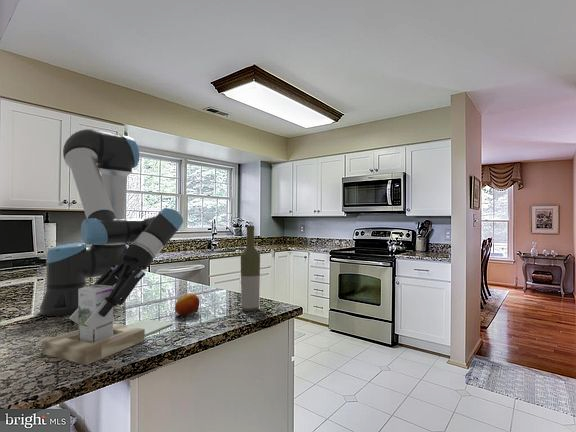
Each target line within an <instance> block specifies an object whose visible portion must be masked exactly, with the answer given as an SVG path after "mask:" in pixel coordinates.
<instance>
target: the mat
mask: <svg viewBox="0 0 576 432" xmlns="http://www.w3.org/2000/svg"><path fill="white" fill-rule="evenodd" d="M170 325H171V326H173V322H167V321H162V320H161V321H160V320H155V319H148V318H147V319H146V318H145V319H142V320H139V321H136V322H133V323H130V324H128V325H126V326H129V327H135V328H140V329H145V337H147V336H149V335H151V334H154V333H156V332H158V331H161V330H164V329H166V328H168V327H167V326H169V327H171V326H170ZM165 327H166V328H165ZM163 328H164V329H163Z"/></svg>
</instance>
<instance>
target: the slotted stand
mask: <svg viewBox="0 0 576 432" xmlns="http://www.w3.org/2000/svg"><path fill="white" fill-rule="evenodd" d="M78 332H79V330H78V329H76V330H74V331H73V330H72V331H70V332H66V333H63V334H60V335H57V336H54V337H50V338H48V339H44V340H41V354H42V355H47V356H50V357H53V358H57V359H62V360H66V361H70V362H74V363H78V364H80V365H81V364H82V365H85V366H88V365H91V364H92V363H95V362H97V361H99V360H103V359H105V358H108V357H110V356H111V355H114V354H116V353H119V352H121V351H124V350H126V349H128V348H131V347H134V346H135V345H138V344H139V343H142V342H144V341H145V338H146V336H145V329H140V328H135V327H129V326H127V325H122V324H117V323H113V336H111V337H108V338H105V339H102V340H100V341H97V342H94V343H92V344H91V343H86V342H82V341H79V334H78Z"/></svg>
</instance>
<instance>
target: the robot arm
mask: <svg viewBox="0 0 576 432" xmlns="http://www.w3.org/2000/svg"><path fill="white" fill-rule="evenodd" d="M62 157H63V159H64V163H65V164H66V166H67V167H68V168H70V170H71V173H72V176H73V179H74V182H75V187H76V189H77V191H78V196H79V199H80V201H81V204H82V208H83V211H84V214H85V217H86V219H84V220H83V221H82V222H81V225H80V233H81V234H80V237H81V239H82V241H83V242H78V243H77V242H76V243H67V244H61V245H56V246H53V247H51V248H49V249H48V250H47V253H46V260H45V263H46V284H45V285H46V290H45V293H44V295H43V298H42V300H41V304H40V306H39V314H40V315H42V316H46V317H47V316H49V317H50V316H51V317H57V316H65V315H66V316H67V315H70V316H69V319H70V320H71V321H72V322H74V323H76V325H79V324H78V290H79V289H80V288H83V287H86V286H87V279H89V278H97V277H99V278H98V279H97V280H96V281H95V282H94V283H93V284H92V285H106V286H113V290H112V292H111V294H110V295H109V297H106V298H105V300H107V301H108V302H107V301H105V300H104V301H103V302H102V303H101V304H100V305H99V306H98V308H97V309H96V310H95V311H94V312H93V313H92V315H91V316H90V317H89V318H88V319H87V321H86V322H85V323H84V324H85V325H86V326H88V327H89V328H91V329H92V330H94V329H95V328H96V327H97V326H98V324H99V323H100V322H101V321H102V319H103V318H104V317H105V316H106V315H107V314H108V312H109V311H110V310H111V309H112V308H113V309H114V307H116V306H117V305H118V306H122V305H123V304H124V303H125V301H126V300H127V298H128V297H129V296H130V295H131V294H132V291H133V290H134V289H135V287H136V286H137V284H139V281H141V280H142V278H144V277H145V275H146V272H144V270H145V271H146V270H147V269H148V268H149V266H150V265H151V264H152V263H153V261H154V259H155V258H157V256H159V255H160V252H161V251H162V250H163V248H165V246H166V245H167V244H168V243H169V242H170V241H171V239H172V238H173V237H174V235H176V233H177V232H178V231H179V230H180V228H181V226H182V225H183V223H184V218H183V216H182V215H181V213H180V212H178V211H177V210H176V209H174V208H172V207H170V206H169V207H166V206H165V207H164V208H162V209H161V210H160V211H159V212H158V213H157V215H156V216H152V217H148V218H125V208H126V207H125V206H126V196H127V195H126V192H127V182H128V176H129V175H131V173H132V171H133V169H135V168H136V167H137V166H138V164H139V163H140V162H139V161H140V149H139V146H138V144H137V142H136V140H135V139H134V138H132V137H130V136H126V135H123V134H116V133H112V132H107V131H100V130H95V129H88V128H87V129H81V130H78V131H75V132H74V133H72V134H71V135H70V136H69V137H68V138H67V139H66V140H65V142H64V145H63V149H62ZM131 243H132V244H131ZM129 244H130V245H129ZM88 245H90V246H88Z"/></svg>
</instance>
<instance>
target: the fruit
mask: <svg viewBox="0 0 576 432" xmlns="http://www.w3.org/2000/svg"><path fill="white" fill-rule="evenodd" d="M199 307H200V299H199V296H197V294H195V293H186V294H184V295H182V296H181V297H179V298H178V299H177V300H176V302H175V307H174V310H175V312H176V313H177V314H178V315H179V316H181V317H187V316H188V317H189V316H193V315H194V314H195V313H198V314H200V312H199V309H200V308H199Z"/></svg>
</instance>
